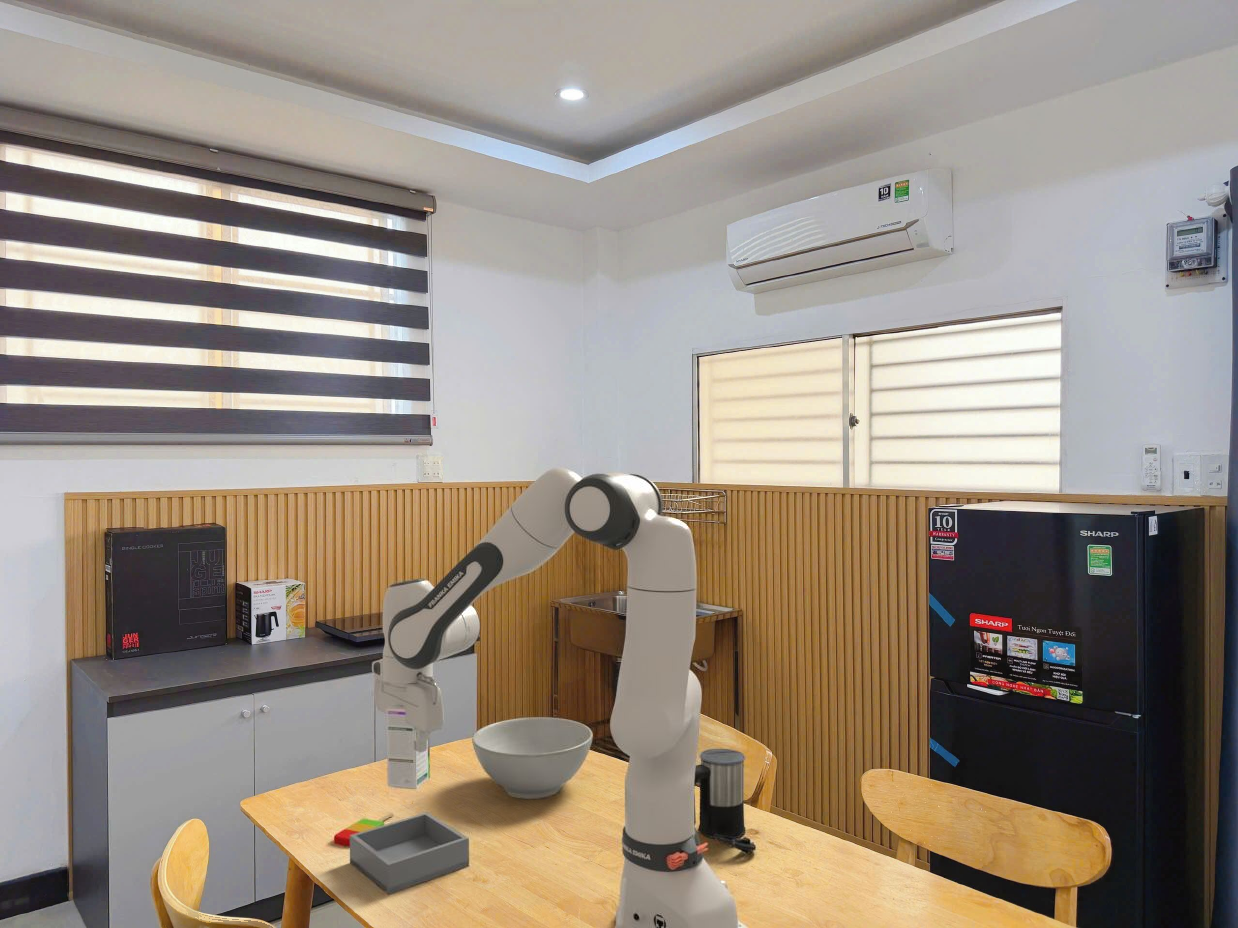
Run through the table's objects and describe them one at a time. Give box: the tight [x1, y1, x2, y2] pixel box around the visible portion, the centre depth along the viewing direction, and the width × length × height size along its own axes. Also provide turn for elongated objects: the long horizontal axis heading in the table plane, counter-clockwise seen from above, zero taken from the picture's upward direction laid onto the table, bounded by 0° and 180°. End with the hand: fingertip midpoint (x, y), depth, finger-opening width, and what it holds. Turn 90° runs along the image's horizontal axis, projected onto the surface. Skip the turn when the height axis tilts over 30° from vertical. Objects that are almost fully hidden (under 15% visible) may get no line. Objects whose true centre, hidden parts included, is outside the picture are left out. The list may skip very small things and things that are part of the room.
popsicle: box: [333, 812, 394, 848], centre depth 171 cm, size 6×15×2 cm, turn 157°
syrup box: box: [386, 704, 431, 791], centre depth 156 cm, size 6×6×14 cm
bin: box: [349, 811, 470, 895], centre depth 156 cm, size 16×16×5 cm
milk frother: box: [694, 748, 757, 854], centre depth 165 cm, size 14×16×15 cm
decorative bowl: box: [471, 716, 594, 800], centre depth 192 cm, size 27×27×12 cm
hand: (408, 744), depth 156 cm, fingers closed on syrup box, 7 cm apart
